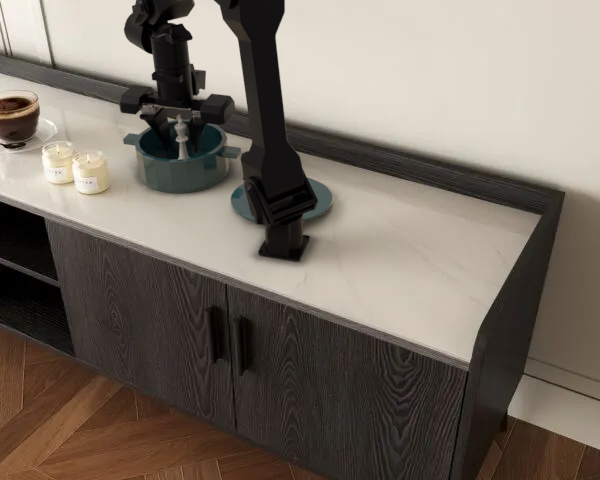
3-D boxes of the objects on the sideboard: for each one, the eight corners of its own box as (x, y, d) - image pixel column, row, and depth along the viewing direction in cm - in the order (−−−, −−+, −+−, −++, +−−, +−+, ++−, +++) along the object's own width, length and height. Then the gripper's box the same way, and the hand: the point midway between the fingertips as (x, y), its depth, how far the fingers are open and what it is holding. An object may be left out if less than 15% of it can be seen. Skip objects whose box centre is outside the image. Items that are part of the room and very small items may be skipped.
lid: (312, 235, 116) (312, 206, 113) (214, 218, 121) (211, 189, 118) (344, 188, 129) (345, 160, 126) (254, 174, 134) (253, 147, 131)
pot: (224, 201, 126) (222, 169, 123) (110, 184, 131) (104, 152, 127) (254, 157, 138) (253, 126, 134) (148, 143, 143) (144, 113, 139)
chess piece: (180, 177, 131) (174, 124, 125) (165, 167, 134) (158, 114, 128) (204, 168, 134) (199, 115, 128) (189, 158, 137) (183, 106, 131)
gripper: (243, 50, 126) (248, 136, 136) (140, 40, 130) (152, 124, 140) (219, 76, 118) (226, 165, 128) (110, 64, 122) (125, 152, 132)
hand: (182, 150), depth 132 cm, fingers open, 4 cm apart
